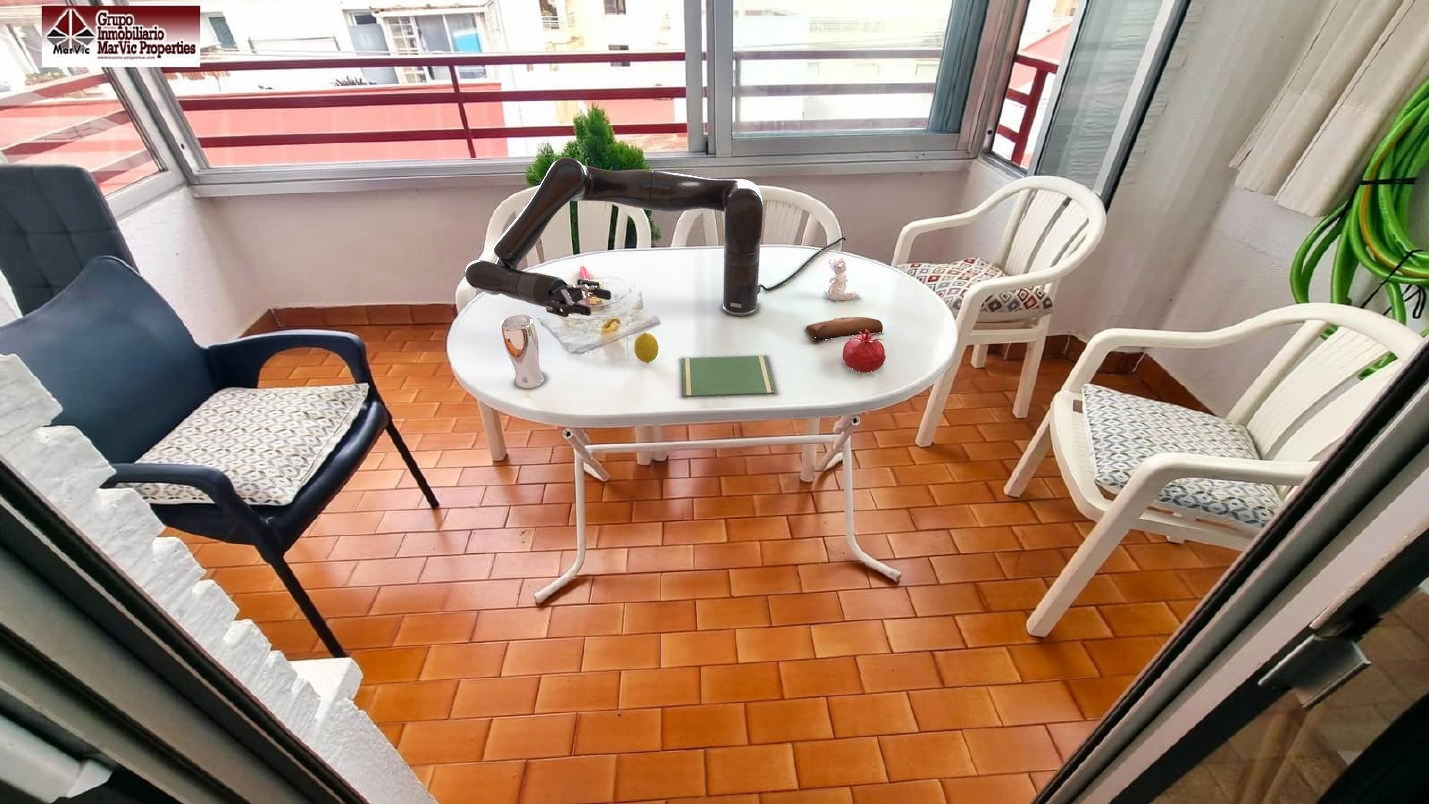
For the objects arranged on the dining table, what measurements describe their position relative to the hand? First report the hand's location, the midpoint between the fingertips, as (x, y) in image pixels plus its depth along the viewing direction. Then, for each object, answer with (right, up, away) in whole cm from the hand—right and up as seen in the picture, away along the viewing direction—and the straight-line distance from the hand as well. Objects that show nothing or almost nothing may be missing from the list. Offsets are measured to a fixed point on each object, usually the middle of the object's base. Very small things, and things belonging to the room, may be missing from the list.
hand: (600, 303), depth 132 cm
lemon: (+10, -13, +4) cm, 18 cm away
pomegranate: (+61, -14, +4) cm, 63 cm away
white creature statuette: (+61, +7, +33) cm, 70 cm away
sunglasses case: (+59, -5, +16) cm, 61 cm away
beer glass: (-16, -18, -2) cm, 24 cm away
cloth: (+29, -17, 0) cm, 33 cm away
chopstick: (-11, +11, +36) cm, 40 cm away
